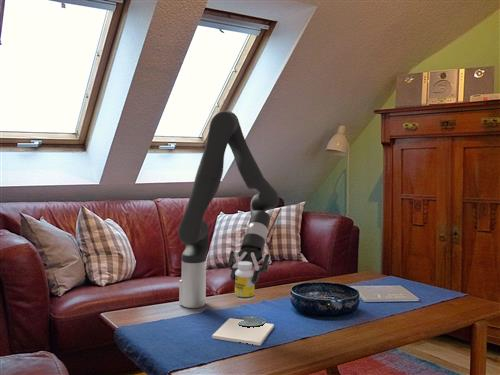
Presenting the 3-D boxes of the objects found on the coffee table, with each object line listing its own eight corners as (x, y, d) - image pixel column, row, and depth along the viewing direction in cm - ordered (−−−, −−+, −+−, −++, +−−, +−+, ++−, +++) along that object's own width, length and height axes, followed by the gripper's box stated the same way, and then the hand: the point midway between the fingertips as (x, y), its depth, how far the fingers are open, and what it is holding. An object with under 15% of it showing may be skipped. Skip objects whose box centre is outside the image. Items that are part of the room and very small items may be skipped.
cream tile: (212, 338, 156) (212, 335, 156) (229, 320, 171) (229, 318, 171) (260, 345, 151) (260, 342, 151) (273, 327, 166) (273, 324, 166)
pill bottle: (232, 295, 162) (232, 261, 161) (250, 293, 164) (250, 259, 163) (238, 301, 156) (238, 266, 155) (257, 299, 158) (257, 264, 157)
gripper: (232, 230, 167) (219, 273, 157) (273, 234, 163) (262, 278, 153) (237, 243, 173) (225, 284, 163) (276, 246, 168) (266, 289, 158)
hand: (243, 281), depth 158 cm, fingers closed on pill bottle, 6 cm apart
